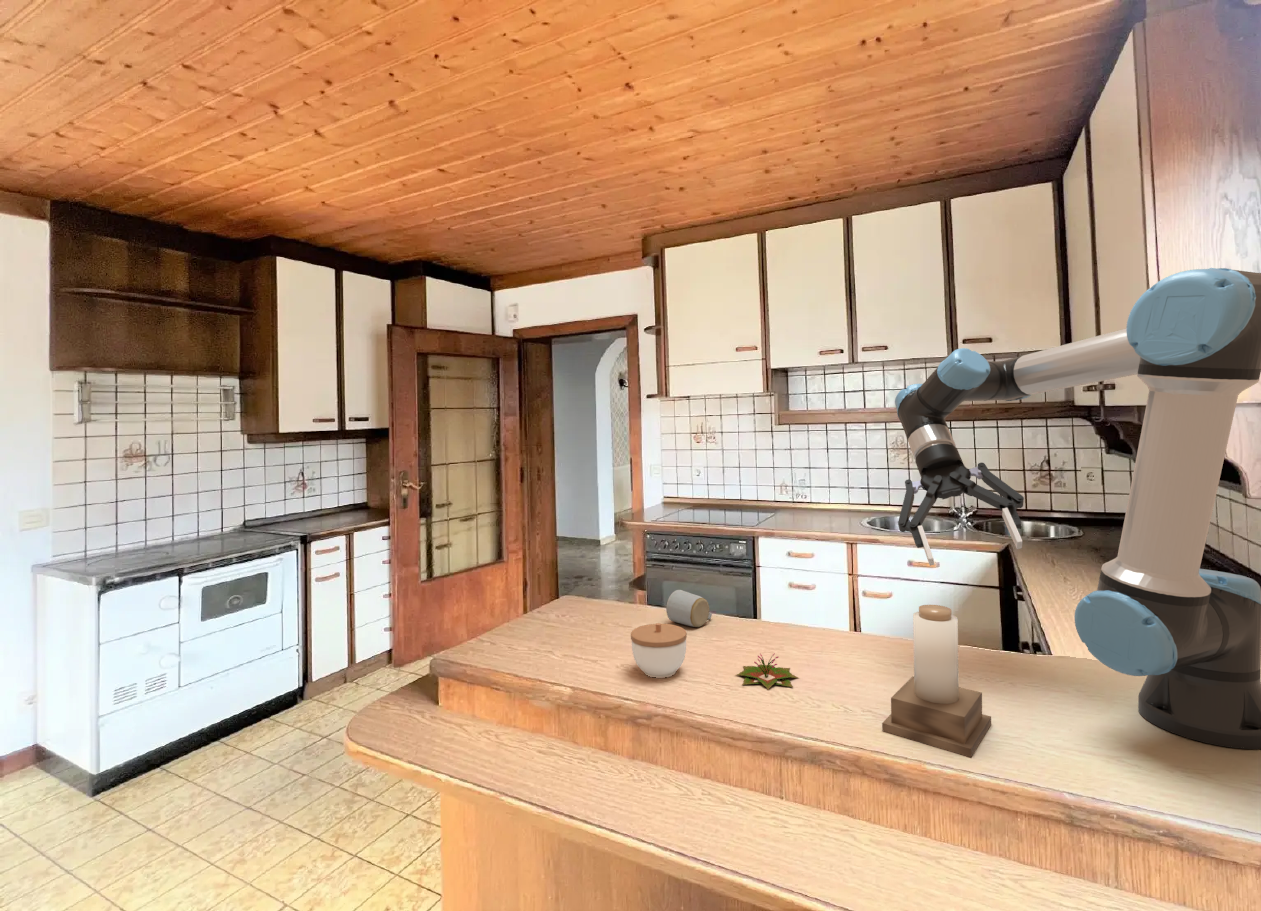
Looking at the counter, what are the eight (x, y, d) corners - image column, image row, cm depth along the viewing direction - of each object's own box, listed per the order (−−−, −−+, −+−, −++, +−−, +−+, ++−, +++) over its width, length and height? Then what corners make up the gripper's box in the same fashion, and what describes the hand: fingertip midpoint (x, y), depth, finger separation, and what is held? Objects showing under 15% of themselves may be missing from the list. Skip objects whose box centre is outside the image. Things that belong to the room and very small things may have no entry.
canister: (962, 692, 93) (961, 607, 92) (953, 707, 88) (952, 617, 88) (920, 683, 97) (919, 600, 96) (909, 696, 92) (907, 610, 91)
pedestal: (991, 724, 93) (990, 691, 93) (971, 757, 84) (970, 721, 84) (908, 702, 101) (908, 672, 101) (882, 730, 92) (881, 698, 92)
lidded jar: (658, 688, 110) (656, 637, 109) (620, 671, 118) (619, 624, 118) (699, 671, 117) (697, 623, 116) (661, 657, 125) (659, 611, 125)
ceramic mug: (692, 631, 140) (692, 598, 139) (665, 624, 145) (665, 592, 145) (720, 621, 147) (719, 589, 147) (693, 614, 153) (693, 584, 153)
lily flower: (735, 665, 120) (734, 642, 120) (797, 668, 118) (797, 645, 118) (733, 691, 109) (732, 666, 108) (802, 695, 106) (802, 669, 106)
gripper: (1007, 447, 114) (1056, 548, 101) (869, 480, 123) (899, 577, 110) (1009, 424, 109) (1061, 527, 96) (864, 460, 117) (894, 559, 104)
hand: (974, 554), depth 103 cm, fingers open, 13 cm apart
